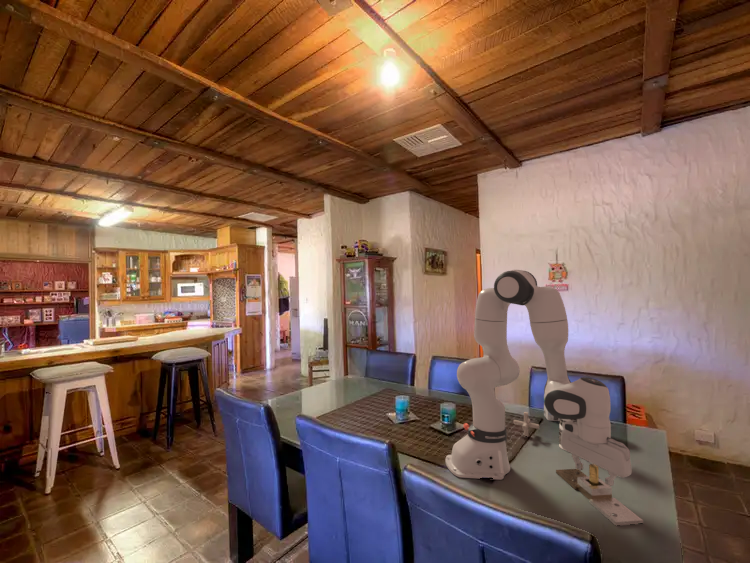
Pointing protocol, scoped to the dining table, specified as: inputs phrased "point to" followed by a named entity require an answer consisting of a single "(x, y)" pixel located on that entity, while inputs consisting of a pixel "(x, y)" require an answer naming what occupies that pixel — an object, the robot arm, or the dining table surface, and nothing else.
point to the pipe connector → (526, 424)
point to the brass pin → (593, 475)
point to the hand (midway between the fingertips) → (593, 476)
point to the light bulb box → (548, 415)
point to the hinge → (600, 497)
